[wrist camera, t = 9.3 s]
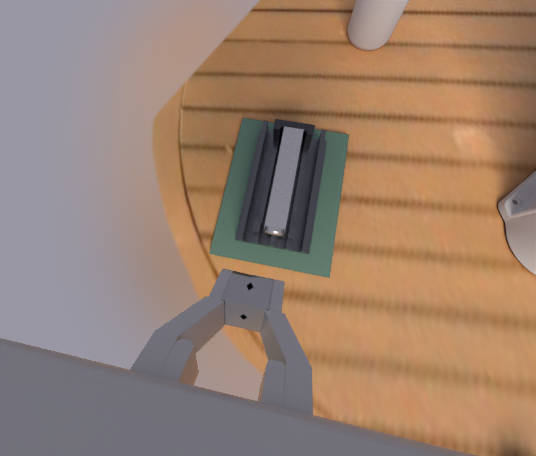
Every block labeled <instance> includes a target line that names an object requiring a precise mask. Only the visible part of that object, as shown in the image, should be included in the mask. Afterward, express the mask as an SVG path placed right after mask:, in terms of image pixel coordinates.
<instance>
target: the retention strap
mask: <svg viewBox="0 0 536 456" xmlns="http://www.w3.org/2000/svg"><path fill="white" fill-rule="evenodd" d="M303 131H304V129H298V128H291V127H285V126H284V131H283V136H282V141H281V146H280V151H279V156H278V161H277V166H276V171H275V176H274V181H273V186H272V191H271V196H270V201H269V206H268V211H267V216H266V221H265V226H264V233H266V234H271V235H277V236H282V237H283V236H284V233H285V229H286V223H287V218H288V213H289V207H290V202H291V196H292V191H293V186H294V180H295V175H296V169H297V164H298V158H299V153H300V148H301V142H302V137H303Z"/></svg>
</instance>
